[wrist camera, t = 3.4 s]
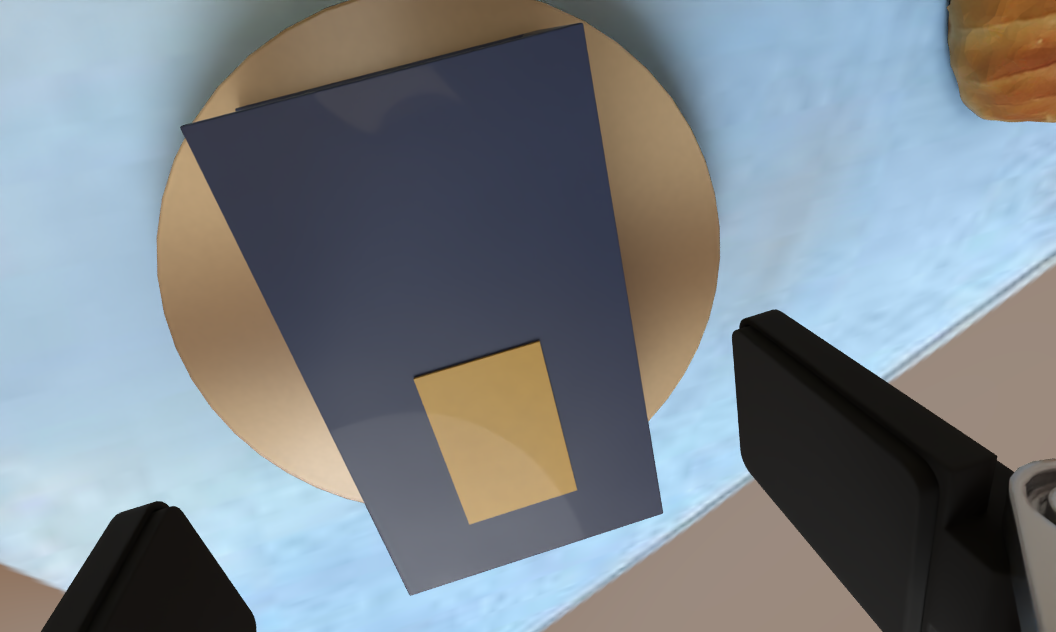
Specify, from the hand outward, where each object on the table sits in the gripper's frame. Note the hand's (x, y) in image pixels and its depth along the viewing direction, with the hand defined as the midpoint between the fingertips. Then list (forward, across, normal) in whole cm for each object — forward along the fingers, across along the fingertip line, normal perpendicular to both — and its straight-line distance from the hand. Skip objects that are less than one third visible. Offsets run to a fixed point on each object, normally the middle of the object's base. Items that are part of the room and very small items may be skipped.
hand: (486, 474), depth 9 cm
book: (+8, 0, 0) cm, 8 cm away
